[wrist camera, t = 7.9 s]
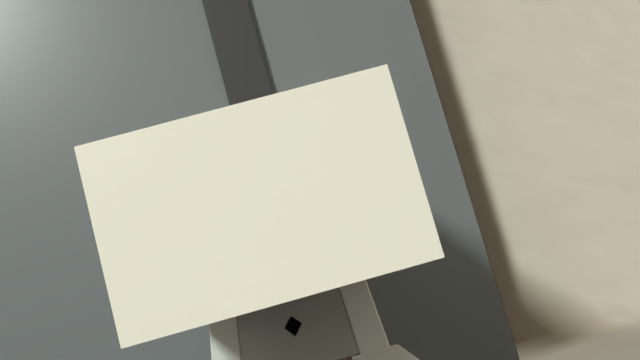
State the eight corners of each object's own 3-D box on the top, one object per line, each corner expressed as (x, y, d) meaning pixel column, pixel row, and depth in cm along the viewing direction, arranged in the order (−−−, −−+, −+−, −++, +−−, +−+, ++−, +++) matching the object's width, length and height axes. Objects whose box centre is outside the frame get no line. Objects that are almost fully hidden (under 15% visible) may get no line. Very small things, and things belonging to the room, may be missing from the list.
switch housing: (-335, 711, 15) (-416, 770, 14) (-450, -116, 18) (-530, -154, 16) (531, 449, 16) (556, 472, 15) (306, -291, 19) (306, -344, 17)
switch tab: (221, 294, 15) (121, 348, 7) (197, 200, 15) (74, 146, 7) (372, 251, 15) (444, 257, 7) (346, 159, 15) (386, 63, 7)
